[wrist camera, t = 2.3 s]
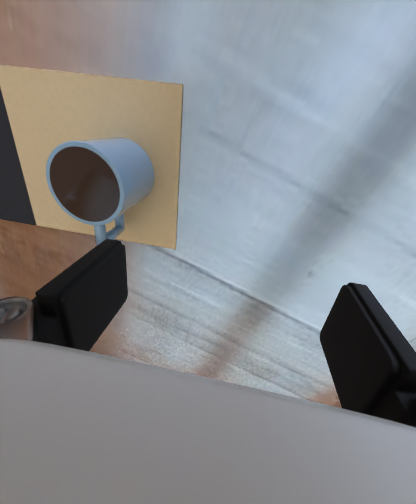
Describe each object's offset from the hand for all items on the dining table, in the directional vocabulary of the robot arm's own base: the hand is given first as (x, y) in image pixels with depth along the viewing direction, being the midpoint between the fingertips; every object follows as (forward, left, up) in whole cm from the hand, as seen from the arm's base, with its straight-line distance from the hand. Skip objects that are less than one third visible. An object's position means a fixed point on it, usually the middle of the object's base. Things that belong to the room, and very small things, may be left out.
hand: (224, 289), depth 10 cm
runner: (+23, -6, -19) cm, 31 cm away
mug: (+14, -2, -19) cm, 23 cm away
